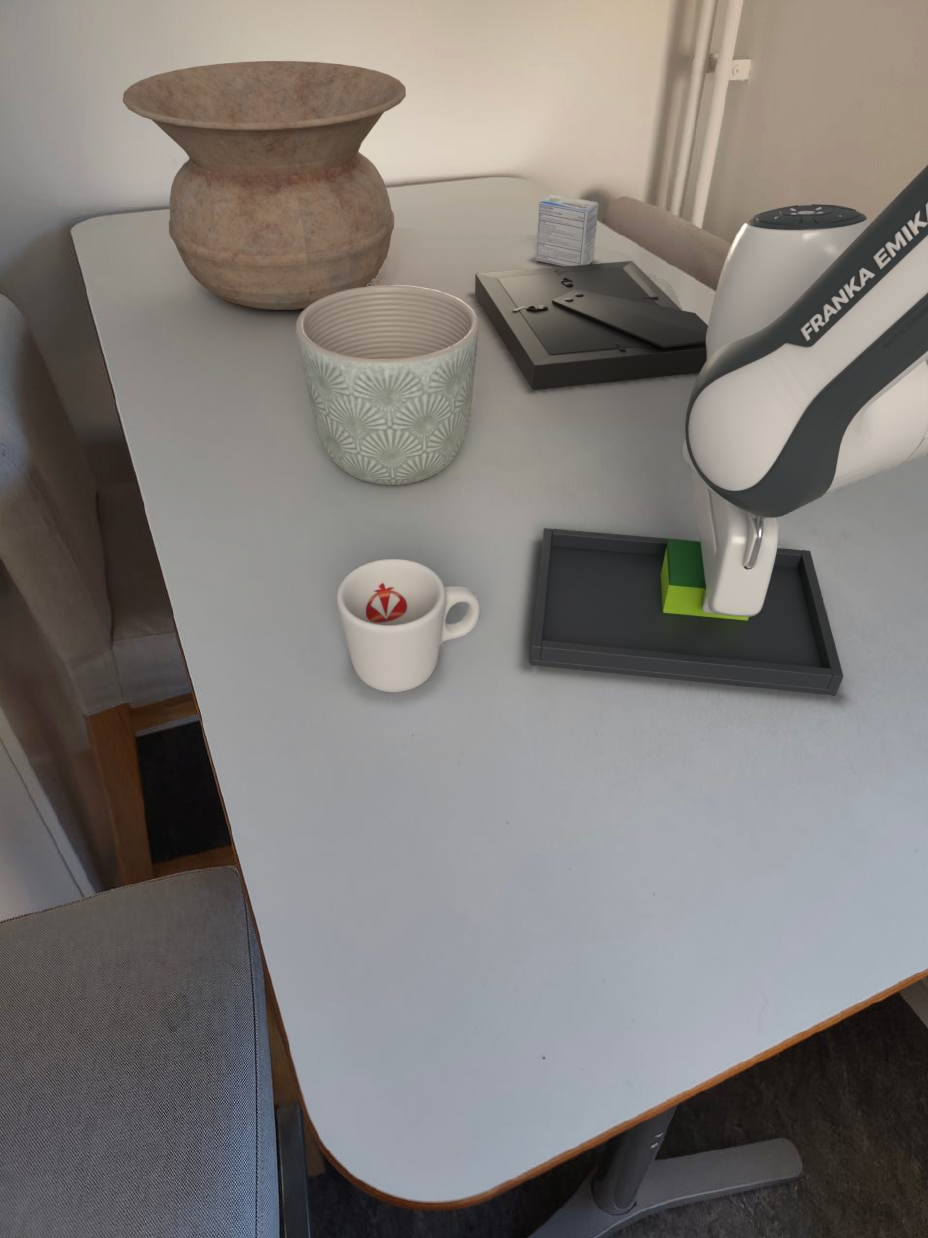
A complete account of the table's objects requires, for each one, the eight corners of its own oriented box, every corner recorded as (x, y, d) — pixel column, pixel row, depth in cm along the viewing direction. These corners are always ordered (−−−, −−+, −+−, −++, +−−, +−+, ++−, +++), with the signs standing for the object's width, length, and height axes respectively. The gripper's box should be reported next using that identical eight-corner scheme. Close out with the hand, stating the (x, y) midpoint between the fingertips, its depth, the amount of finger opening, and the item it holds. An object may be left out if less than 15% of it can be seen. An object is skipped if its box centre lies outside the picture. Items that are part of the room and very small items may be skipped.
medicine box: (593, 262, 132) (600, 201, 126) (581, 271, 129) (587, 210, 124) (547, 252, 135) (551, 192, 129) (534, 261, 132) (538, 201, 127)
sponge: (741, 582, 76) (752, 545, 73) (747, 620, 72) (759, 583, 69) (660, 575, 76) (668, 538, 74) (662, 612, 73) (670, 576, 70)
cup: (461, 618, 73) (462, 542, 67) (493, 684, 67) (497, 607, 62) (335, 645, 70) (325, 568, 65) (357, 716, 65) (349, 639, 59)
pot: (320, 232, 141) (302, 50, 124) (461, 295, 122) (463, 92, 106) (124, 285, 124) (72, 83, 107) (254, 369, 105) (217, 140, 88)
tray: (803, 568, 78) (810, 550, 77) (835, 695, 67) (844, 677, 65) (542, 545, 80) (543, 527, 79) (529, 665, 69) (531, 646, 67)
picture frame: (714, 370, 106) (629, 282, 127) (721, 338, 104) (633, 252, 124) (532, 389, 102) (475, 295, 123) (535, 356, 99) (475, 265, 120)
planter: (366, 406, 99) (356, 272, 89) (502, 442, 93) (508, 303, 83) (280, 480, 88) (257, 336, 77) (428, 526, 82) (425, 378, 72)
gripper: (815, 525, 56) (762, 674, 65) (772, 377, 71) (734, 516, 80) (715, 517, 56) (677, 666, 66) (693, 372, 71) (665, 510, 81)
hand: (708, 582), depth 73 cm, fingers closed on sponge, 5 cm apart
